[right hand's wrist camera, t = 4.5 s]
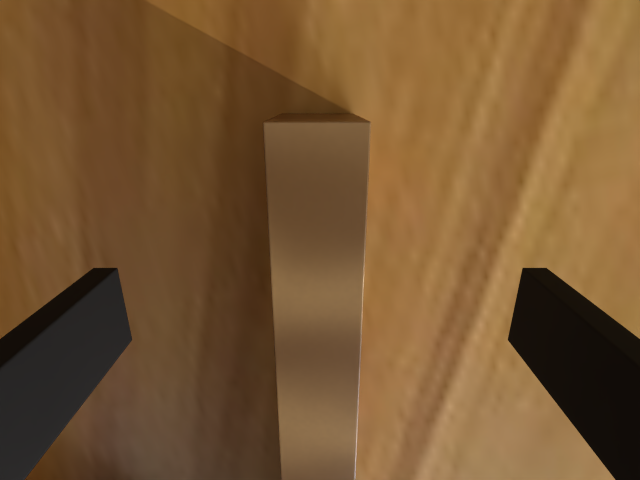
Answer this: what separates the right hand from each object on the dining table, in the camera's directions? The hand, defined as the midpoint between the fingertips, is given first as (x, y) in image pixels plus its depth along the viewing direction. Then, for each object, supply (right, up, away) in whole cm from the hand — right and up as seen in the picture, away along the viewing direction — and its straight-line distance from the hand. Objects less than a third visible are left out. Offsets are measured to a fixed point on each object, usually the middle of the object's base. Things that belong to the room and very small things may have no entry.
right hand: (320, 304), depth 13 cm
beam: (0, -27, +25) cm, 37 cm away
